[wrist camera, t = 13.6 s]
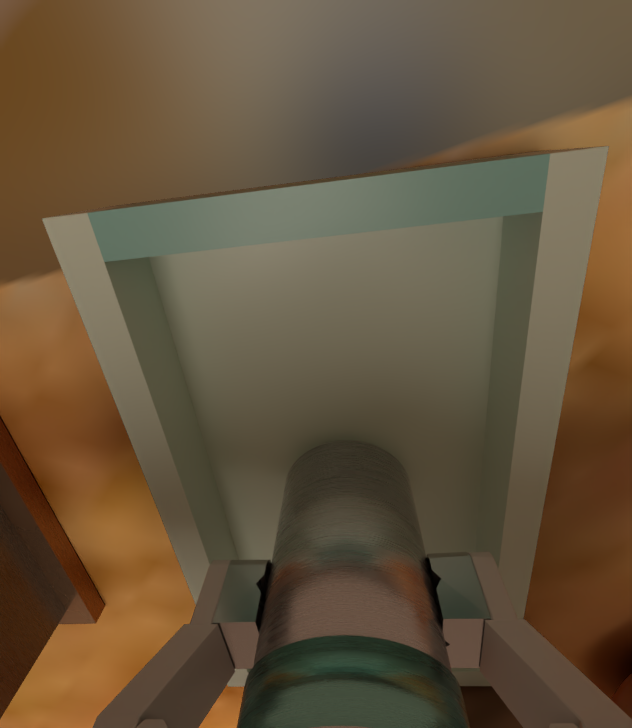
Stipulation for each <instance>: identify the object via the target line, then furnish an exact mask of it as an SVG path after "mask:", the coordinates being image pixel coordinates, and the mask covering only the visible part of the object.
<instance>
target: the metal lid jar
mask: <svg viewBox="0 0 632 728" xmlns="http://www.w3.org/2000/svg"><path fill="white" fill-rule="evenodd" d="M237 728H470V725H469V721H468V716H467V712H466V708H465V703H464V699H463V695H462V691H461V688H460V685H459V683H458V681H457V679H456V677H455V676H454V675H453V674H452V670H451V666H450V661H449V657H448V652H447V648H446V643H445V639H444V635H443V631H442V627H441V622H440V618H439V613H438V609H437V604H436V598H435V593H434V589H433V585H432V582H431V577H430V572H429V568H428V563H427V559H426V552H425V548H424V543H423V539H422V534H421V530H420V525H419V521H418V516H417V512H416V507H415V503H414V498H413V494H412V489H411V484H410V480H409V477H408V474H407V472H406V470H405V468H404V467H403V465H402V464H401V463H400V462H399V461H398V460H397V459H396V458H395V457H394V456H393V455H392V454H390V453H389V452H387V451H386V450H384V449H382V448H380V447H378V446H375V445H372V444H369V443H365V442H360V441H351V440H344V441H333V442H329V443H325V444H322V445H319V446H316V447H314V448H312V449H310V450H308V451H307V452H305V453H304V454H303V455H301V456H300V457H299V458H298V459H297V460H296V461H295V462H294V464H293V465H292V467H291V468H290V470H289V472H288V475H287V478H286V483H285V488H284V494H283V500H282V505H281V511H280V517H279V522H278V528H277V534H276V540H275V545H274V551H273V557H272V562H271V568H270V574H269V580H268V585H267V591H266V597H265V602H264V608H263V614H262V619H261V625H260V631H259V637H258V642H257V648H256V654H255V659H254V665H253V667H252V669H251V670H250V672H249V674H248V676H247V678H246V682H245V686H244V692H243V697H242V703H241V708H240V713H239V719H238V724H237Z"/></svg>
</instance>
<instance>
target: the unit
mask: <svg viewBox="0 0 632 728" xmlns="http://www.w3.org/2000/svg"><path fill="white" fill-rule="evenodd" d="M104 607H105V605H104V603H103V601H102V599H101V598H100V596H99V594H98V592H97V590H96V589H95V587H94V585H93V583H92V582H91V580H90V578H89V576H88V574H87V573H86V571H85V569H84V567H83V565H82V564H81V562H80V560H79V558H78V556H77V555H76V553H75V551H74V549H73V548H72V546H71V544H70V542H69V540H68V539H67V537H66V535H65V533H64V531H63V530H62V528H61V526H60V524H59V522H58V521H57V519H56V517H55V515H54V514H53V512H52V510H51V508H50V506H49V505H48V503H47V501H46V499H45V497H44V496H43V494H42V492H41V490H40V488H39V487H38V485H37V483H36V481H35V480H34V478H33V476H32V474H31V472H30V471H29V469H28V467H27V465H26V463H25V462H24V460H23V458H22V456H21V454H20V453H19V451H18V449H17V447H16V446H15V444H14V442H13V440H12V438H11V437H10V435H9V433H8V431H7V429H6V428H5V426H4V424H3V422H2V420H1V419H0V718H1V717H2V715H3V714H4V712H5V710H6V709H7V707H8V705H9V704H10V702H11V701H12V699H13V697H14V696H15V694H16V692H17V691H18V689H19V687H20V686H21V684H22V683H23V681H24V679H25V678H26V676H27V674H28V673H29V671H30V670H31V668H32V666H33V665H34V663H35V661H36V660H37V658H38V656H39V655H40V653H41V652H42V650H43V648H44V647H45V645H46V643H47V642H48V640H49V639H50V637H51V635H52V634H53V632H54V630H55V629H56V627H57V626H58V624H91V623H96V622H97V620H98V619H99V617H100V615H101V613H102V611H103V609H104Z"/></svg>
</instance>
